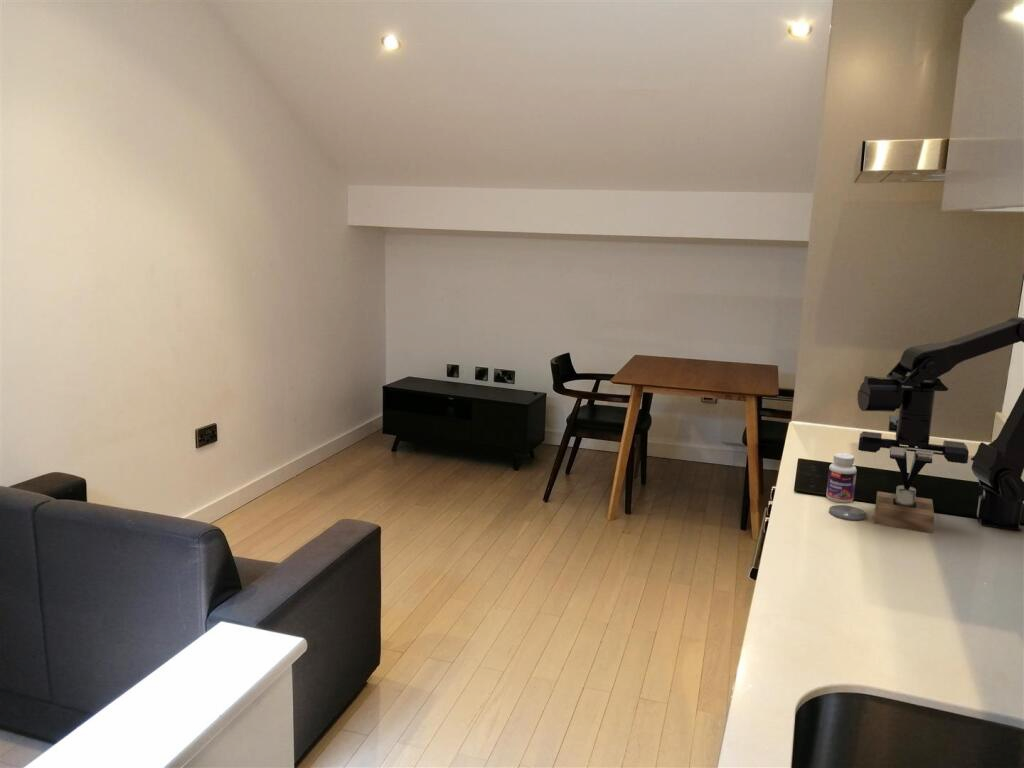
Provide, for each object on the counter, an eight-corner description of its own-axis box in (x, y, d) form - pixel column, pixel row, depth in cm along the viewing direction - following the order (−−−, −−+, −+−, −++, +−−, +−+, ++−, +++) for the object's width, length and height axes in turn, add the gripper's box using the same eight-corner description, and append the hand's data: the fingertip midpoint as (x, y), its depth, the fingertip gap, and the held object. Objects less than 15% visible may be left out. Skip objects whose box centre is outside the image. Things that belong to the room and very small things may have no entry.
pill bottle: (824, 500, 157) (829, 457, 155) (827, 492, 162) (831, 450, 160) (852, 504, 155) (857, 460, 153) (854, 497, 160) (858, 454, 158)
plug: (912, 515, 148) (915, 487, 146) (912, 521, 145) (916, 492, 143) (893, 512, 149) (896, 484, 148) (893, 518, 146) (896, 489, 145)
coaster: (867, 511, 151) (867, 508, 151) (865, 523, 145) (866, 520, 145) (830, 505, 154) (830, 502, 154) (827, 516, 148) (827, 514, 148)
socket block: (930, 515, 149) (932, 499, 148) (932, 533, 140) (934, 515, 140) (875, 507, 154) (877, 491, 153) (874, 523, 145) (876, 506, 144)
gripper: (968, 408, 145) (958, 483, 149) (864, 398, 154) (856, 470, 157) (973, 421, 136) (962, 501, 139) (862, 410, 144) (854, 485, 147)
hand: (906, 488), depth 146 cm, fingers closed, pressing on plug
